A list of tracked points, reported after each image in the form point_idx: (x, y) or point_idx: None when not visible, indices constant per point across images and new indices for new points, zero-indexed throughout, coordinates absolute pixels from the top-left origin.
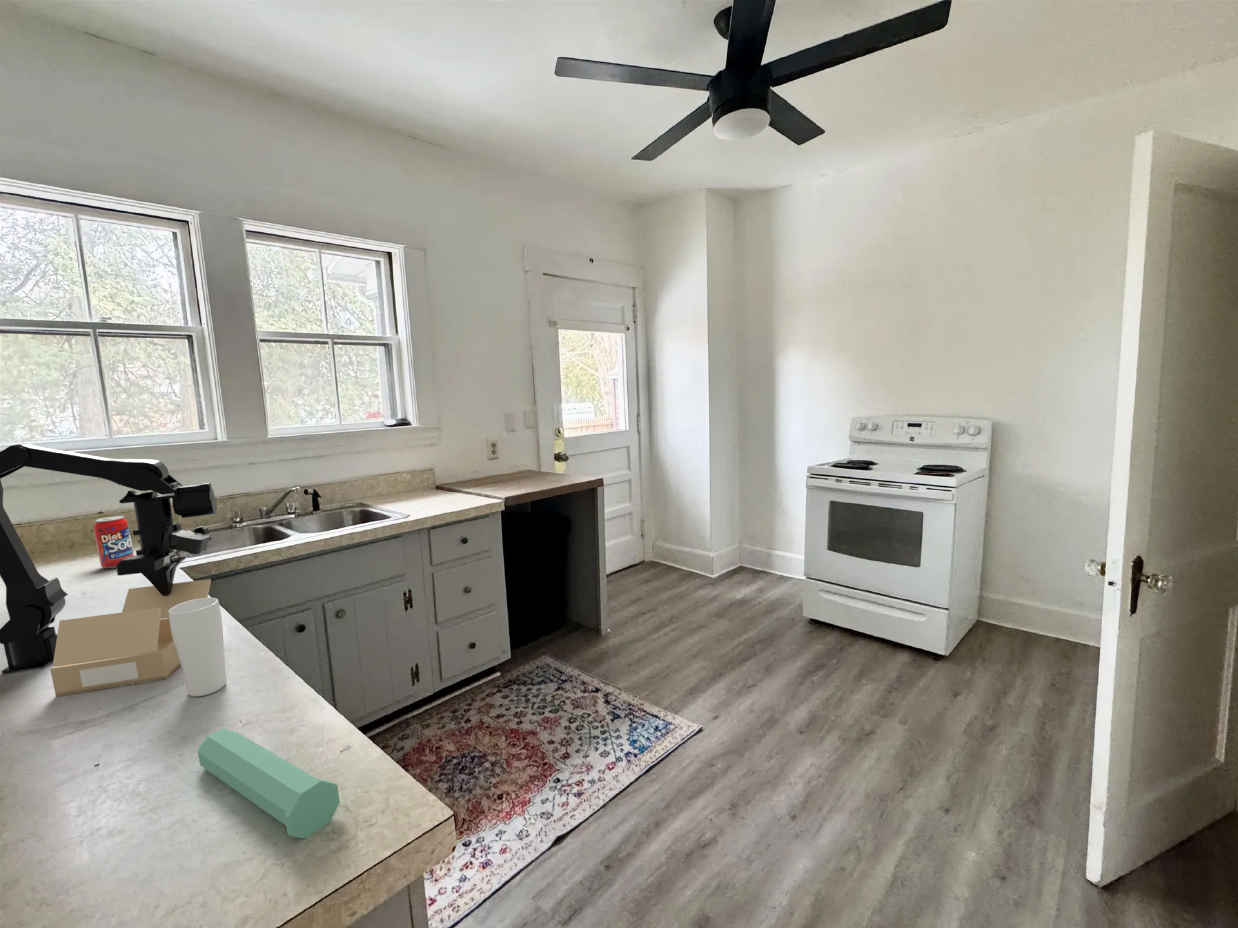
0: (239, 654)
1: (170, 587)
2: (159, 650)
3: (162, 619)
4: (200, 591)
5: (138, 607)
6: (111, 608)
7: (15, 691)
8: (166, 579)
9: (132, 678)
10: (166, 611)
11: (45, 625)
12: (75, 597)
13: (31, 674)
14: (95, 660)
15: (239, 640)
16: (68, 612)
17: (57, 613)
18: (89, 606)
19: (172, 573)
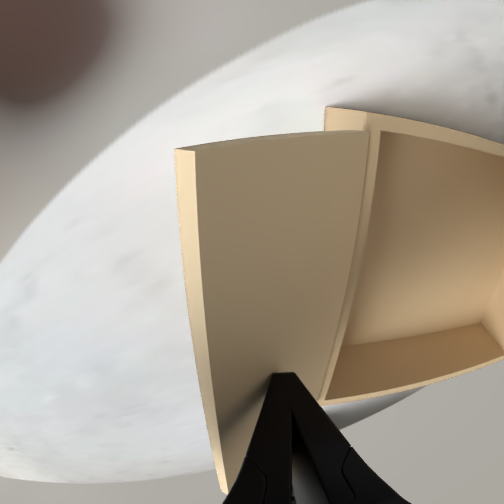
0: (490, 15)
1: (285, 404)
2: (399, 234)
3: (345, 299)
4: (290, 196)
5: None
6: (45, 427)
7: (411, 392)
8: (362, 459)
9: None
10: (330, 311)
11: (292, 487)
12: (23, 454)
13: (348, 414)
14: (407, 346)
15: (408, 8)
16: (66, 457)
17: (293, 501)
18: (44, 445)
19: (283, 491)
